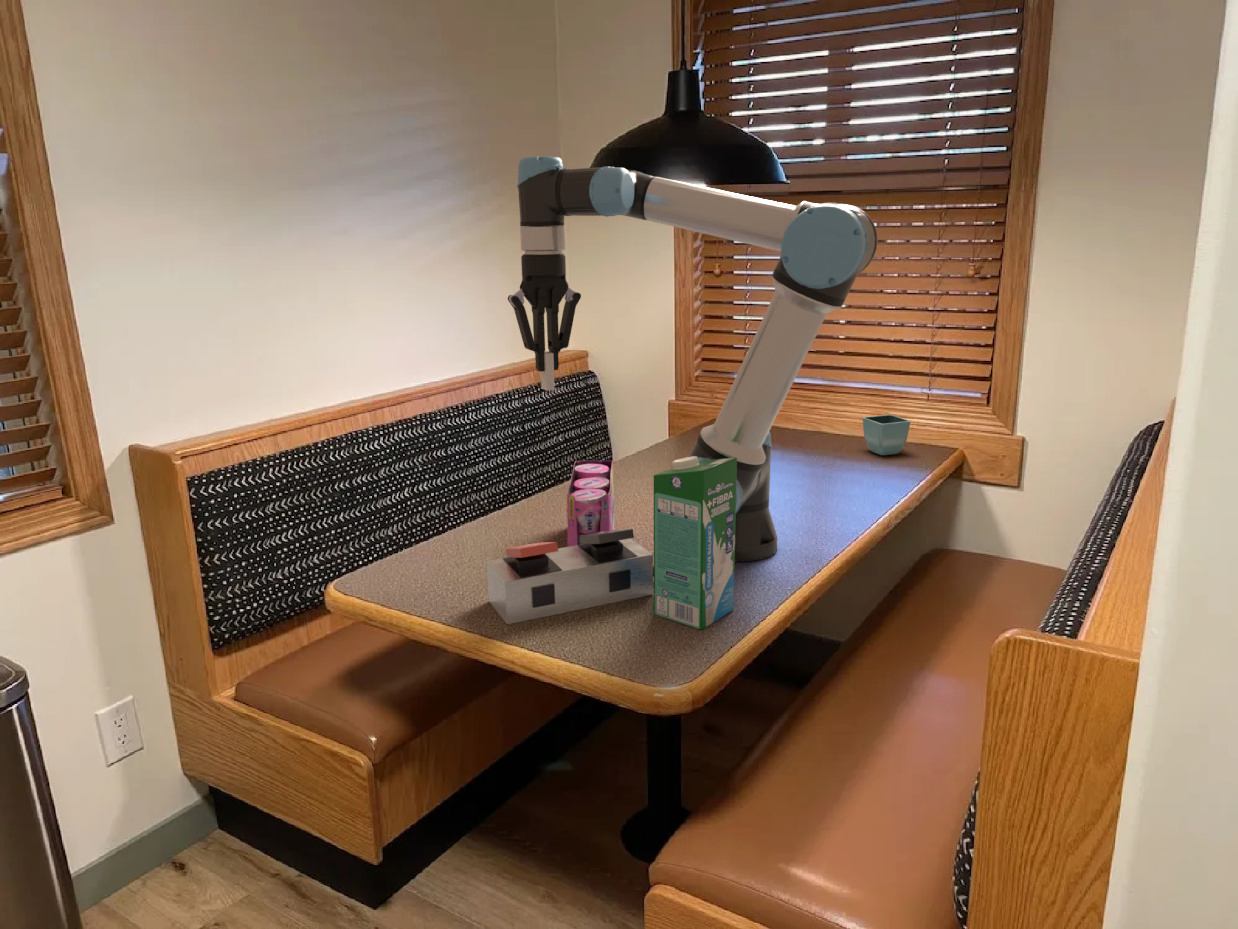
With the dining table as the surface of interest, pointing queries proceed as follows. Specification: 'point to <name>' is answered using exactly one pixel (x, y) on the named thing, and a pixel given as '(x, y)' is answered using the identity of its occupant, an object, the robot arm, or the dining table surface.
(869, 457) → the dining table surface
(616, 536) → the black rocker
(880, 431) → the flower pot
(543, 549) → the red rocker
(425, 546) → the dining table surface
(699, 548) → the milk carton
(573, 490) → the gum box
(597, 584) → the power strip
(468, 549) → the dining table surface
